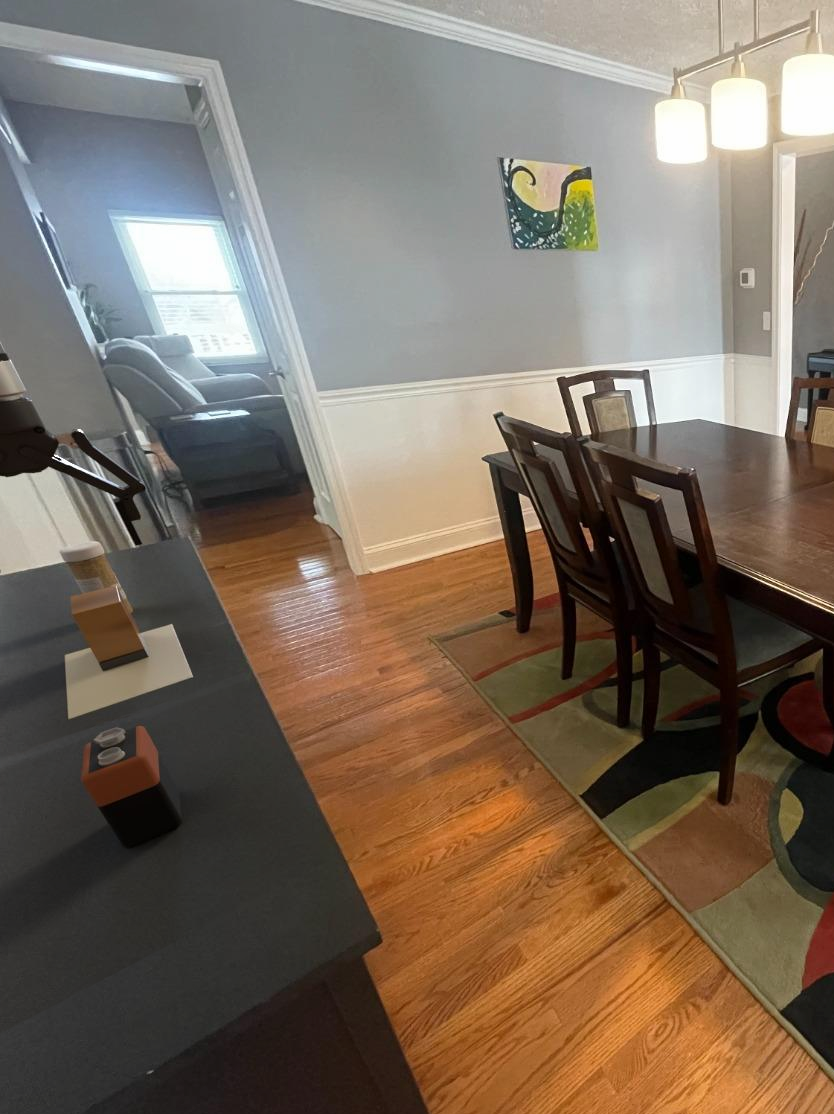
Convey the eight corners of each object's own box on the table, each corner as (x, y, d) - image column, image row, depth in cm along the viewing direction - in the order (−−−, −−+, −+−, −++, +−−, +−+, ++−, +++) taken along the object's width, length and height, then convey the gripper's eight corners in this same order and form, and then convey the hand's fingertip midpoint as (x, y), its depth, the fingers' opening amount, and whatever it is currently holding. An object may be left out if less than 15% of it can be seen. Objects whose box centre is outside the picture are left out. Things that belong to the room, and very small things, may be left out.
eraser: (99, 648, 89) (70, 595, 85) (142, 635, 92) (116, 584, 89) (102, 671, 84) (71, 615, 80) (148, 657, 87) (121, 602, 83)
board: (67, 660, 88) (64, 654, 88) (174, 629, 96) (171, 623, 96) (71, 725, 74) (68, 719, 74) (196, 682, 82) (193, 676, 82)
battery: (180, 789, 64) (139, 715, 60) (183, 826, 60) (140, 748, 56) (124, 812, 62) (77, 736, 57) (124, 852, 57) (73, 772, 53)
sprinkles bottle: (143, 614, 101) (107, 540, 95) (112, 627, 97) (73, 552, 91) (122, 612, 102) (84, 539, 96) (90, 625, 98) (49, 550, 92)
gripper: (-202, 420, 62) (-78, 599, 71) (125, 389, 79) (192, 537, 87) (-185, 412, 67) (-71, 581, 76) (121, 384, 83) (185, 525, 92)
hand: (71, 558), depth 82 cm, fingers open, 13 cm apart
